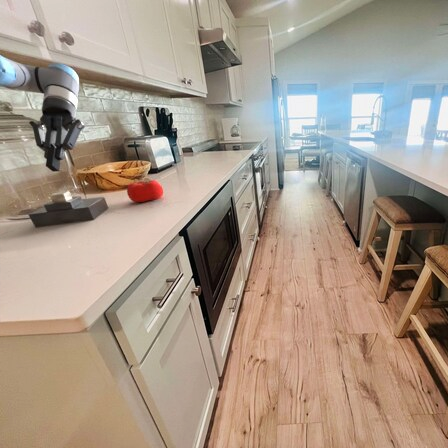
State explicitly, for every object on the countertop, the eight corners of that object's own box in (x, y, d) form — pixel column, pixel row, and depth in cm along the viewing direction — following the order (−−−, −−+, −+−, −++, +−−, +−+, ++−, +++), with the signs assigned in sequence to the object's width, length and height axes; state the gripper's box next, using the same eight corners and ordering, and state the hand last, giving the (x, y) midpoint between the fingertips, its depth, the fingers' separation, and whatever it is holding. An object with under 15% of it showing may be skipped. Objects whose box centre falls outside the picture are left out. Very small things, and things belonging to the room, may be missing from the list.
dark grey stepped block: (35, 227, 67) (24, 207, 65) (58, 214, 77) (49, 196, 74) (94, 219, 71) (85, 200, 68) (108, 208, 80) (101, 190, 78)
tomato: (167, 199, 86) (162, 181, 84) (131, 206, 80) (125, 187, 78) (162, 193, 94) (157, 177, 91) (129, 200, 88) (123, 182, 85)
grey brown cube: (53, 204, 68) (49, 195, 67) (60, 200, 71) (56, 192, 70) (67, 202, 69) (63, 194, 68) (73, 199, 71) (69, 191, 70)
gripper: (91, 114, 81) (87, 173, 73) (44, 116, 77) (34, 178, 69) (77, 95, 74) (71, 158, 66) (24, 96, 70) (11, 162, 63)
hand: (52, 168), depth 68 cm, fingers closed
